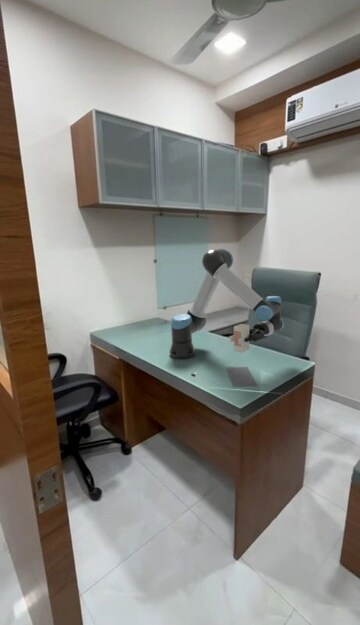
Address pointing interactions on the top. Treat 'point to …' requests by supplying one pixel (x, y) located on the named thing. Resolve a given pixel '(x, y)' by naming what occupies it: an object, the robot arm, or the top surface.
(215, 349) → the top surface
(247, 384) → the mat
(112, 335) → the top surface
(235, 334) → the card box
